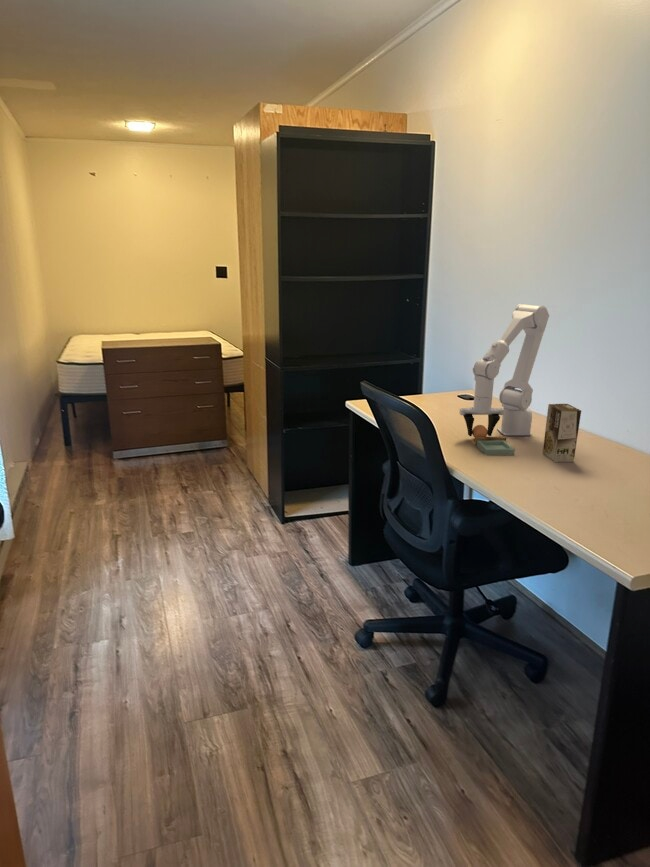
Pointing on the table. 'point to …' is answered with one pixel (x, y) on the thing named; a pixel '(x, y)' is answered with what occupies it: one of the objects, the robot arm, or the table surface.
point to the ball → (479, 431)
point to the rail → (489, 439)
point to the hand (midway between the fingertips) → (479, 435)
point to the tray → (495, 448)
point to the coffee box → (561, 432)
